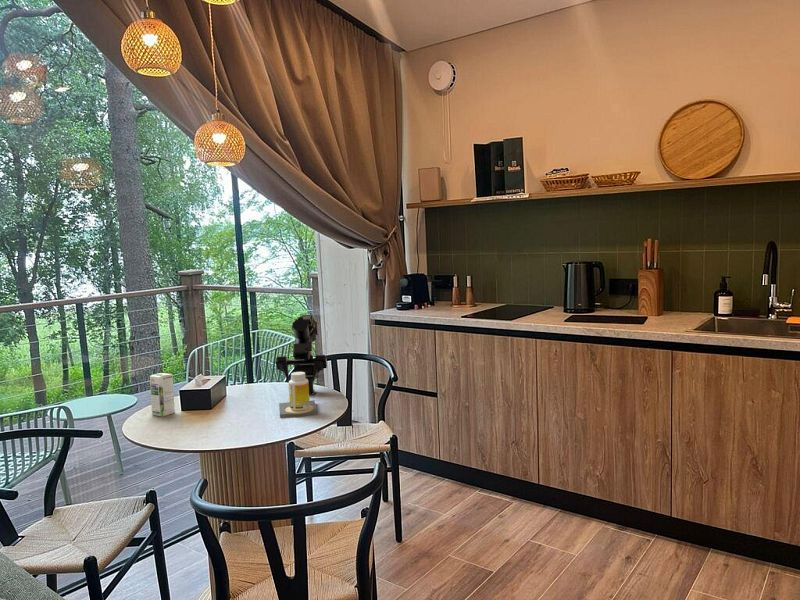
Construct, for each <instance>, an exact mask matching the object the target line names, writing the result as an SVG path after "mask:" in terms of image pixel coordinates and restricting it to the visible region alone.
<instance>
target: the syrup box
mask: <svg viewBox="0 0 800 600" xmlns="http://www.w3.org/2000/svg"><path fill="white" fill-rule="evenodd" d="M149 384H150V385H149V386H150V400H151V403H150V404H151V415H152V416H157V417H158V416H159V417H165V416H168V415H172V414H174V413H176V411H175V409H176V408H175V395H174V394H175V392H174V391H175V390H174V376H173V374H172V373H164V372H160V373H154V374H151V375H150V376H149Z"/></svg>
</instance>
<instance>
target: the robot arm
mask: <svg viewBox="0 0 800 600" xmlns="http://www.w3.org/2000/svg"><path fill="white" fill-rule="evenodd" d="M318 328H319V327H318V322H317V321H316V320H315V319H314V318H313V315H312V314H304V315H303V314H301V315H300V316H298V317H297V318H295V319H294V321H293V322H292V324H291V330H292V331H293V335H294V336H293V337H294V343H293V344H292V357H293V359H291V358H289V359H288V357H287V356H286V355H279V356H276V357H275V359H274V361H275V366H276V367H275V368H276V370H278V371H280V372H283V374H284V377H285V379H286V382H287V384H289V381H290V374H289V366H293V370H294V371H293V373H294V372H305V376H306V377H305V379H307V380H308V383H309V395H315V394H316V391H315V388H314V382H316V381H315V380H316V379H317V378H319V373H320V372H321V371H323V370H324V369H327V368H328V360H327V355H326V354H315V356H314V355H313V354H312V352H313V343H314V342H315V341H316V340H317V336H318V335H319V329H318Z"/></svg>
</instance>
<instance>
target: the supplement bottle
mask: <svg viewBox="0 0 800 600" xmlns="http://www.w3.org/2000/svg"><path fill="white" fill-rule="evenodd" d="M305 377H306V376H305V372H294V371H293V372H291V374H290V379H289V383H288V397H289V398H288V399H289V400H288V401H289V402H290V409H291V410H294V411H301V410H306V409H308V408H309V406H310V404H309V401H310V394H309V383H308V380H307V379H305Z"/></svg>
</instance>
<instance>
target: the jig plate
mask: <svg viewBox="0 0 800 600" xmlns="http://www.w3.org/2000/svg"><path fill="white" fill-rule="evenodd" d="M309 404H310V406H309V408H308V409H306V410H301V411H294V410H291V409H290V401H289V402H288V401H287V402H279V403H278V409H279V410H278V411H279V418H280V417H284V418H292V417H293V416H295V417H306V416H313V415H318V409H317V406H316V402H315V400H309ZM305 415H306V416H305ZM293 418H294V417H293Z"/></svg>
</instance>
